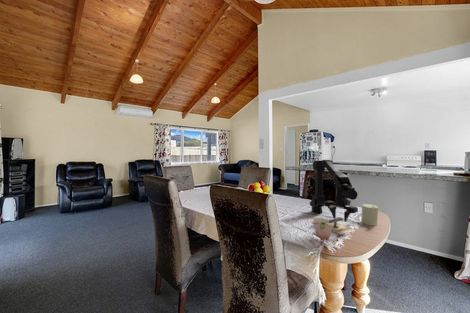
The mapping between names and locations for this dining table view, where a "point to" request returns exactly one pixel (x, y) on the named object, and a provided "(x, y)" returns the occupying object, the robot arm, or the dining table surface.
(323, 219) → the cover
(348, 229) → the board
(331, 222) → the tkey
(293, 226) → the mat
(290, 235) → the dining table surface
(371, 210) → the can
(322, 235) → the decorative fruit
